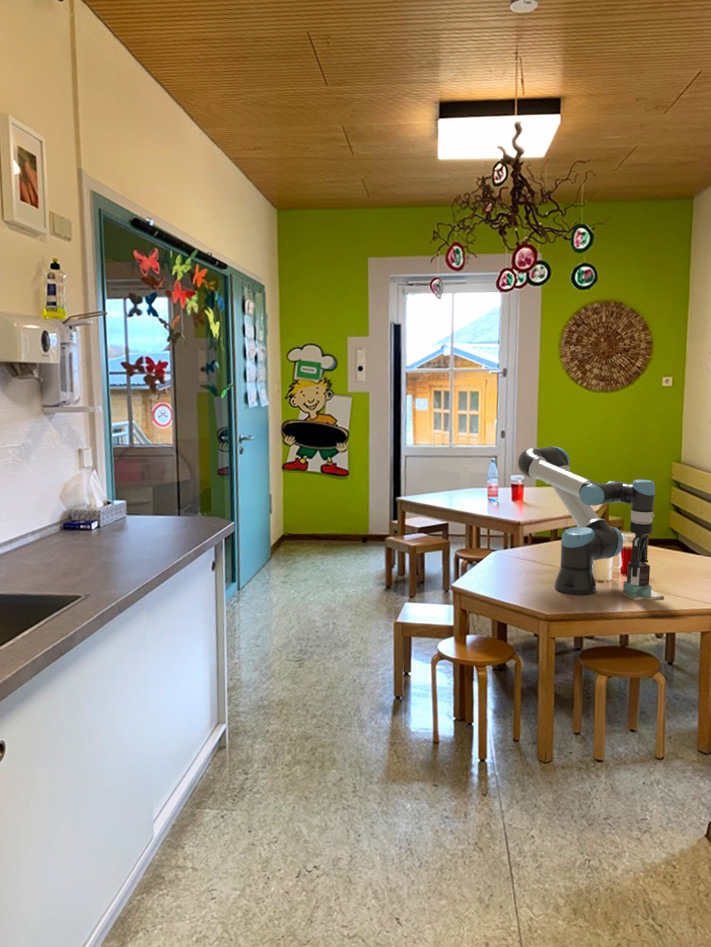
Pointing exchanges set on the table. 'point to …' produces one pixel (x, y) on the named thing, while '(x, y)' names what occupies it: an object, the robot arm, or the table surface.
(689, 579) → the table surface
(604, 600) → the table surface
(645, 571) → the box
